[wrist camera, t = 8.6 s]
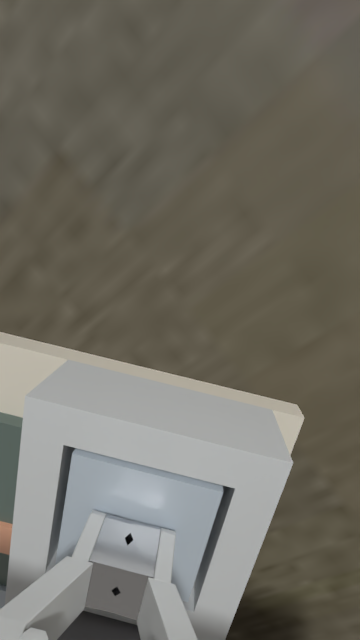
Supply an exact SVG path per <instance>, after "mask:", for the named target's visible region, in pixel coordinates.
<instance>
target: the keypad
mask: <svg viewBox="0 0 360 640" xmlns="http://www.w3.org/2000/svg"><path fill="white" fill-rule="evenodd" d="M303 420H304V416H303V414H302V412H301V411H300V409H299V407H298V405H296V404H292V403H288V402H284V401H280V400H276V399H272V398H268V397H264V396H260V395H256V394H252V393H247V392H243V391H239V390H235V389H231V388H227V387H223V386H219V385H215V384H211V383H207V382H203V381H198V380H194V379H190V378H186V377H182V376H178V375H174V374H170V373H166V372H162V371H158V370H154V369H149V368H145V367H141V366H137V365H133V364H129V363H125V362H121V361H117V360H113V359H109V358H105V357H101V356H96V355H92V354H88V353H84V352H80V351H76V350H72V349H68V348H64V347H60V346H56V345H52V344H47V343H43V342H39V341H35V340H31V339H27V338H23V337H19V336H15V335H11V334H7V333H3V332H0V609H1V608H2V607H4V606H5V605H6V604H7V603H9V602H10V601H11V600H12V599H14V598H15V597H16V596H17V595H19V594H20V593H21V592H22V591H24V590H25V589H26V588H27V587H29V586H30V585H31V584H32V583H34V582H35V581H36V580H37V579H39V578H40V577H41V576H42V575H44V574H45V573H46V572H47V571H49V570H50V569H51V568H52V567H54V566H55V563H56V556H57V550H58V543H59V537H60V530H61V524H62V517H63V510H64V504H65V497H66V491H67V484H68V478H69V471H70V464H71V458H72V453H73V452H74V450H75V448H77V449H81V450H85V451H89V452H93V453H97V454H101V455H105V456H109V457H113V458H117V459H121V460H125V461H129V462H132V463H136V464H140V465H144V466H148V467H152V468H156V469H160V470H164V471H168V472H172V473H176V474H180V475H184V476H187V477H191V478H195V479H199V480H203V481H207V482H211V483H215V484H219V485H223V495H222V498H221V501H220V504H219V507H218V510H217V514H216V517H215V520H214V523H213V526H212V529H211V532H210V535H209V538H208V541H207V545H206V548H205V551H204V554H203V557H202V560H201V563H200V566H199V569H198V573H197V576H196V579H195V582H194V585H193V588H192V591H191V594H190V597H189V601H188V602H185V601H182V602H183V605H184V607H185V609H186V612H187V614H188V617H189V619H190V622H191V624H192V627H193V629H194V632H195V634H196V637H197V639H198V640H225V639H226V636H227V634H228V631H229V629H230V626H231V623H232V621H233V618H234V616H235V613H236V610H237V608H238V605H239V603H240V600H241V597H242V595H243V592H244V590H245V587H246V584H247V582H248V579H249V577H250V574H251V571H252V569H253V566H254V564H255V561H256V558H257V556H258V553H259V551H260V548H261V545H262V543H263V540H264V538H265V535H266V532H267V530H268V527H269V525H270V522H271V519H272V517H273V514H274V512H275V509H276V506H277V504H278V501H279V499H280V496H281V493H282V491H283V488H284V486H285V483H286V480H287V478H288V475H289V473H290V470H291V467H292V465H293V461H292V459H291V456H290V455H291V452H292V450H293V447H294V444H295V442H296V439H297V436H298V434H299V431H300V428H301V426H302V423H303ZM83 611H87V612H91V613H94V614H98V615H102V616H106V617H109V618H113V619H117V620H120V621H124V622H128V623H131V624H135V625H137V620H134V619H131V618H127V617H124V616H121V615H117V614H114V613H111V612H106V611H102V610H98V609H93V608H89V607H85V608H84V610H83Z"/></svg>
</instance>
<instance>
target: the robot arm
mask: <svg viewBox="0 0 360 640" xmlns="http://www.w3.org/2000/svg"><path fill="white" fill-rule="evenodd" d="M175 539H176V532H175V531H172V530H168V529H164V528H161V527H158V526H154V525H149V524H145V523H141V522H137V521H131V520H127V519H124V518H121V517H117V516H114V515H110V514H106V513H103V512H99V511H96V510H92V512H91V513H90V515H89V517H88V520H87V522H86V524H85V527H84V529H83V531H82V533H81V536H80V538H79V540H78V543H77V545H76V547H75V550H74V552H73V554H72V557H69V556H66V557H65V558H64V559H63V560H61V561H60V562H59V563H58V564H56V565H55V566H54V567H52V568H51V569H50V570H49V571H47V572H46V573H45V574H44V575H42V576H41V577H40V578H39V579H37V580H36V581H35V582H34V583H32V584H31V585H30V586H29V587H27V588H26V589H25V590H24V591H22V592H21V593H20V594H19V595H17V596H16V597H15V598H14V599H12V600H11V601H10V602H9V603H7V604H6V605H5V606H4V607H2V608H1V609H0V640H57V639H58V638H59V637H60V636H61V635H62V633H63V632H64V631H65V630H66V629H67V628H68V627H69V626H70V624H71V623H72V622H73V621H74V620H75V619H76V618H77V617H78V615H79V614H80V613H81V612H82V611H83V610H84V608H85V607H89V608H93V609H98V610H102V611H106V612H111V613H114V614H117V615H121V616H124V617H127V618H131V619H134V620H137V626H138V630H139V635H140V639H141V640H198V639H197V637H196V634H195V632H194V629H193V627H192V624H191V622H190V619H189V617H188V614H187V612H186V609H185V607H184V605H183V602H182V600H181V597H180V595H179V592H178V590H177V587H176V585H175V584H172V583H171V578H172V568H173V558H174V549H175Z"/></svg>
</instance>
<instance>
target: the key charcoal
mask: <svg viewBox="0 0 360 640" xmlns="http://www.w3.org/2000/svg"><path fill="white" fill-rule="evenodd" d="M57 640H141V639H140V635H139V630H138V626H137V625H135V624H131V623H128V622H124V621H120V620H117V619H113V618H109V617H106V616H102V615H98V614H94V613H91V612H87V611H82V612H81V613H80V614H79V615H78V617H77V618H76V619H75V620H74V621H73V622H72V623H71V624H70V626H69V627H68V628H67V629H66V630H65V631H64V632H63V633H62V635H61V636H60V637H59V638H58V639H57Z"/></svg>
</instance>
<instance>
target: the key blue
mask: <svg viewBox="0 0 360 640" xmlns="http://www.w3.org/2000/svg"><path fill="white" fill-rule="evenodd" d="M222 495H223V485H219V484H215V483H211V482H207V481H203V480H199V479H195V478H191V477H187V476H184V475H180V474H176V473H172V472H168V471H164V470H160V469H156V468H152V467H148V466H144V465H140V464H136V463H132V462H129V461H125V460H121V459H117V458H113V457H109V456H105V455H101V454H97V453H93V452H89V451H85V450H81V449H77V448H75V450H74V452H73V453H72V458H71V464H70V471H69V478H68V484H67V491H66V497H65V504H64V510H63V517H62V524H61V530H60V537H59V543H58V550H57V556H56V563H55V565H56V564H58V563H59V562H60V561H61V560H63V559H64V558H65V557H66V556H69V557H72V554H73V552H74V550H75V547H76V545H77V543H78V540H79V538H80V536H81V533H82V531H83V529H84V527H85V524H86V522H87V520H88V517H89V515H90V513H91V512H92V510H96V511H99V512H103V513H106V514H110V515H114V516H117V517H121V518H124V519H127V520H131V521H137V522H141V523H145V524H149V525H154V526H158V527H161V528H164V529H168V530H172V531H175V532H176V539H175V549H174V558H173V568H172V578H171V583H172V584H175V585H176V587H177V590H178V592H179V595H180V597H181V600H182V601H185V602H188V601H189V597H190V594H191V591H192V588H193V585H194V582H195V579H196V576H197V573H198V569H199V566H200V563H201V560H202V557H203V554H204V551H205V548H206V545H207V541H208V538H209V535H210V532H211V529H212V526H213V523H214V520H215V517H216V514H217V510H218V507H219V504H220V501H221V498H222Z"/></svg>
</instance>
